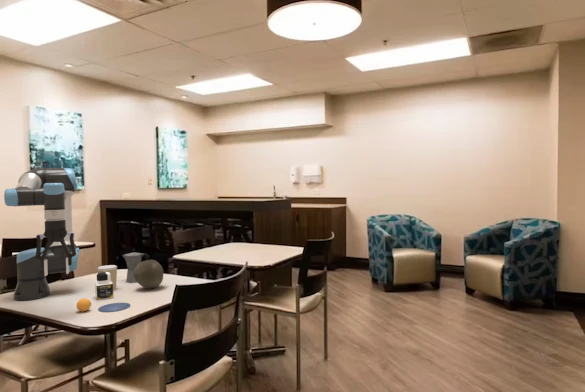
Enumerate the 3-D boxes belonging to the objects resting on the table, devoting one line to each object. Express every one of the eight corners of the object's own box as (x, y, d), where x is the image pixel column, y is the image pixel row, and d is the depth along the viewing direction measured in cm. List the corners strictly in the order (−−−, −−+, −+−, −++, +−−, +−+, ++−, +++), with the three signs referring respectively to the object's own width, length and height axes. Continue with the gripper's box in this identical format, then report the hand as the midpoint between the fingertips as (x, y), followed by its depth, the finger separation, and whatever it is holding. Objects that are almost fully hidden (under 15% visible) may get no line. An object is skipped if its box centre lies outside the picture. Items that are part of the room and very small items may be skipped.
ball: (75, 314, 167) (75, 301, 167) (77, 310, 172) (77, 297, 172) (90, 312, 169) (90, 299, 169) (91, 308, 174) (91, 296, 174)
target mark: (97, 313, 167) (97, 313, 167) (99, 305, 179) (99, 304, 179) (130, 309, 172) (130, 309, 172) (130, 301, 184) (130, 301, 184)
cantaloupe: (149, 284, 216) (149, 256, 215) (169, 286, 210) (168, 258, 209) (128, 290, 203) (128, 261, 203) (149, 293, 197) (148, 263, 196)
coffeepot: (119, 283, 220) (118, 250, 219) (126, 279, 229) (125, 248, 229) (146, 282, 219) (145, 250, 219) (153, 278, 229) (152, 247, 228)
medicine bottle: (97, 300, 187) (96, 275, 186) (95, 296, 193) (94, 272, 193) (113, 297, 191) (112, 273, 190) (111, 294, 197) (110, 270, 196)
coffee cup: (121, 287, 210) (120, 264, 210) (111, 292, 201) (110, 268, 201) (104, 287, 211) (103, 264, 211) (94, 292, 202) (93, 268, 201)
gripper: (24, 221, 158) (26, 278, 159) (81, 219, 166) (83, 273, 167) (28, 220, 165) (30, 274, 166) (83, 217, 173) (84, 270, 174)
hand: (57, 274), depth 166 cm, fingers open, 7 cm apart
